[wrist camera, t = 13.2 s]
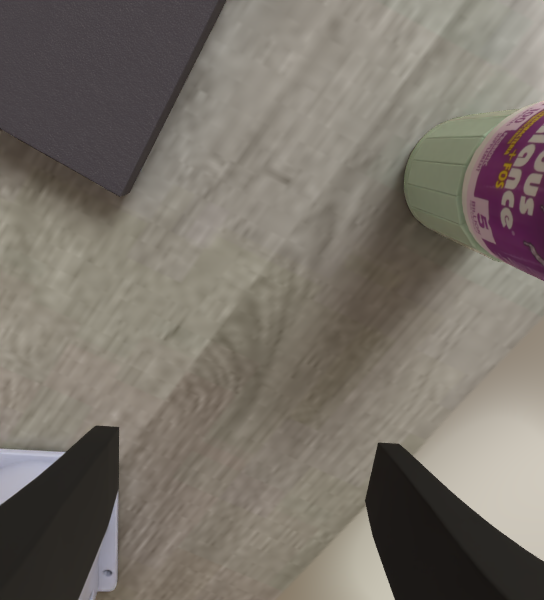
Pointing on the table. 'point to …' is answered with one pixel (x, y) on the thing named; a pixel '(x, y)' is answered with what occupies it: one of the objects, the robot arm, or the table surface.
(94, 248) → the table surface
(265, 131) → the table surface
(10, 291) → the table surface
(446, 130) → the cup
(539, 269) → the pill bottle
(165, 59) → the notebook
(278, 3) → the table surface
